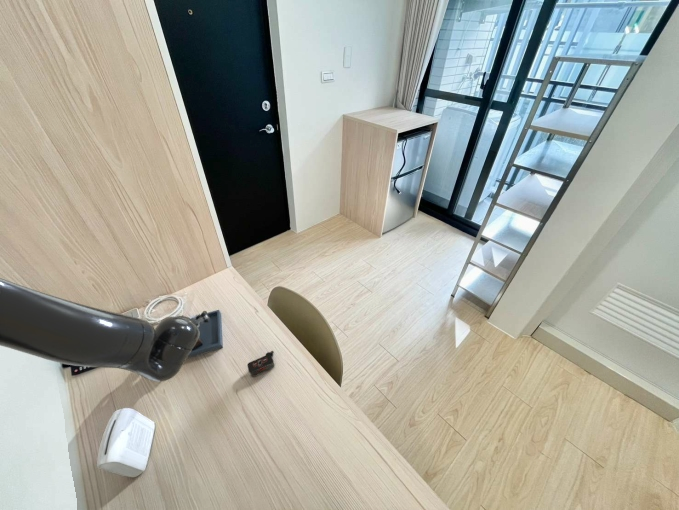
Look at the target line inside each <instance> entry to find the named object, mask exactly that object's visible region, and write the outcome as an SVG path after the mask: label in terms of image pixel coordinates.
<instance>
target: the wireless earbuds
mask: <svg viewBox="0 0 679 510" xmlns="http://www.w3.org/2000/svg"><path fill="white" fill-rule="evenodd" d="M274 353H275V352H274V350H270V351H267V352H266V353H265V355H263V356H261V357H259V358H257V359H254V360H252V361H250V362H248V363H247V365H246V366H247V370H248V373H249V374H250V376H251V377H253V378H254V377H256V376H258V375H261V374H263V373H265V372H267V371H269V370H272V369H274V368H275V366H276V365H275V362H274V359H273V356H274Z"/></svg>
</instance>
